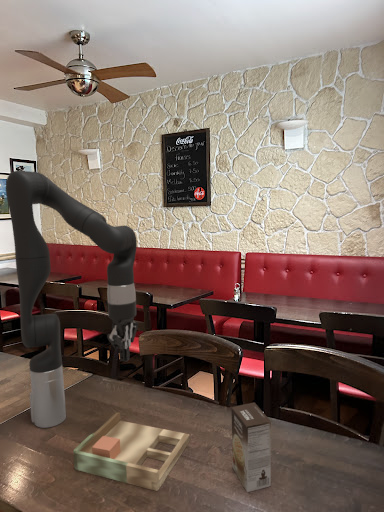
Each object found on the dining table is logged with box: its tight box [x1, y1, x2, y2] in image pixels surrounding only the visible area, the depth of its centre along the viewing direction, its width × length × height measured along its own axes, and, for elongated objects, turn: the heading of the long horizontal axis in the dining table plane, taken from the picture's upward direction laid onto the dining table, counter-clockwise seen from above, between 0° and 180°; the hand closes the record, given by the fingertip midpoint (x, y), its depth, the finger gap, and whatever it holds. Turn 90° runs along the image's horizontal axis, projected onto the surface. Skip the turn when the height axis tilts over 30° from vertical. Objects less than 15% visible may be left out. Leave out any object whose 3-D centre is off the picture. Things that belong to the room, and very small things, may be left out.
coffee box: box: [231, 402, 272, 493], centre depth 90 cm, size 9×6×16 cm
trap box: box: [73, 411, 191, 492], centre depth 101 cm, size 23×20×5 cm
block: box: [92, 436, 121, 459], centre depth 97 cm, size 5×5×4 cm
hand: (125, 360), depth 107 cm, fingers closed
